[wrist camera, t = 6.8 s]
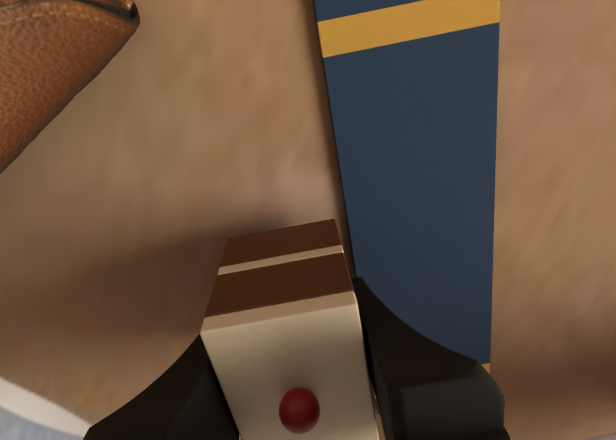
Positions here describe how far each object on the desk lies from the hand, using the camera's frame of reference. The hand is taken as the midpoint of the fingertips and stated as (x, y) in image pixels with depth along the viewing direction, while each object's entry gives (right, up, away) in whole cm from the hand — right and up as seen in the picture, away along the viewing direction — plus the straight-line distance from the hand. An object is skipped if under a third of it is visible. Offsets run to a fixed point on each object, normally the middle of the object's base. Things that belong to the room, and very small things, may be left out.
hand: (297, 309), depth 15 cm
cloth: (+6, +3, +2) cm, 7 cm away
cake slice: (0, +1, +1) cm, 1 cm away
